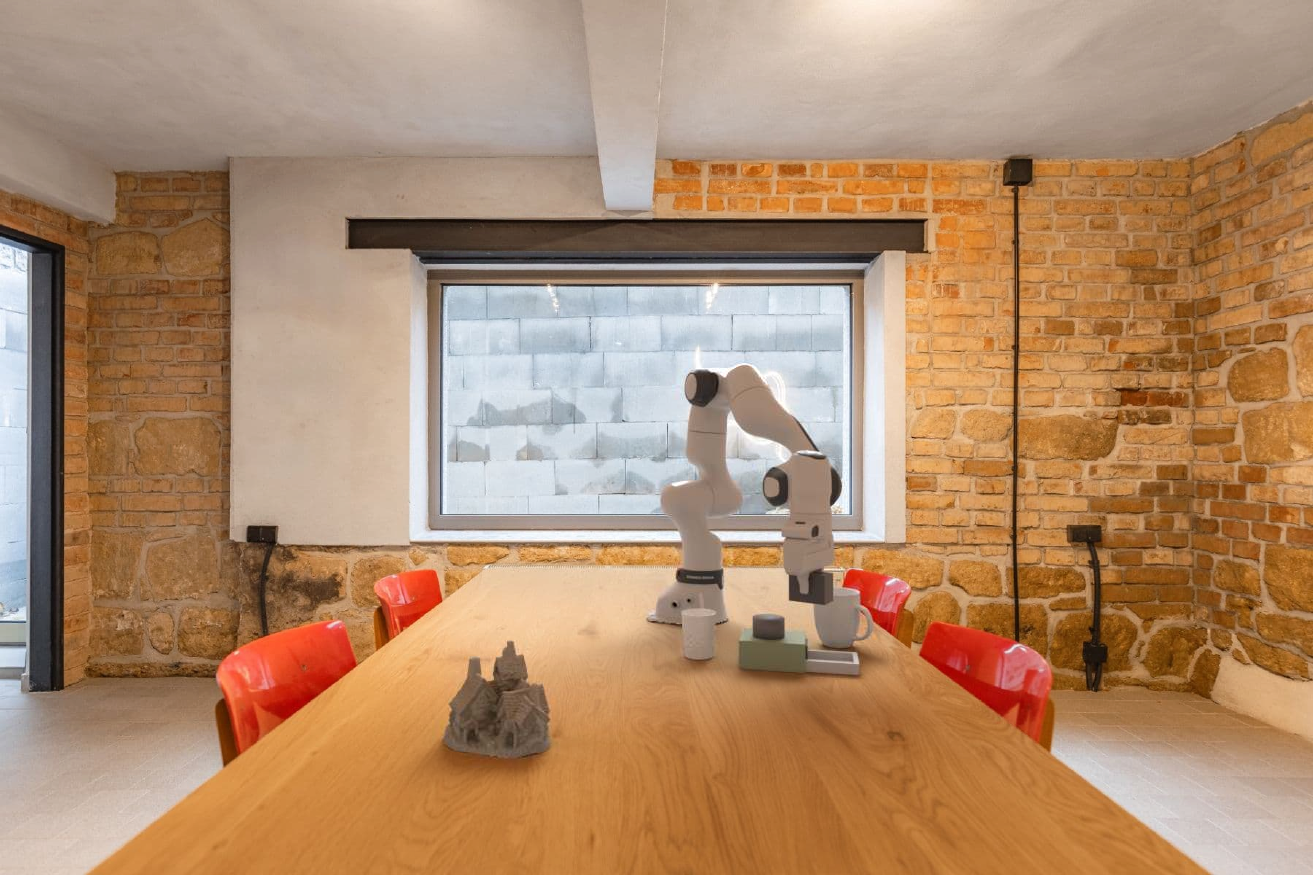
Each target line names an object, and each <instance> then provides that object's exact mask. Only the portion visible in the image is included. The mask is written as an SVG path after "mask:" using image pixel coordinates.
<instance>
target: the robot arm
mask: <svg viewBox="0 0 1313 875" xmlns="http://www.w3.org/2000/svg"><path fill="white" fill-rule="evenodd" d="M684 395H685V398H686V399H687V402H688V403H689V404H690V405H691V406H690V410H689V411H690V412H689V415H688V423H687V434H686V435H687V436H686V448H685V455H686V456H685V457H686V459H687V460H688V462H689V463H690V464H691V465H693V466H694V467H696V468H697V471H698V475H699V476H698V477H699V478H698V479H693V480H692V479H691V480H690V479H689V480H679V481H675V482H672V483H669V484H666V486H664V488H663V489H662V492H661V494H660V499H659V500H660V507H661V510H662V512H663V513H664V514H665V516H666V517H667V518H669V519H670V520H671V521H672V522H673V524H675V526H676V528H677V531H678V533H679V535H680V540H681V546H682V548H681V549H682V566H679V567H677V569H676V571H675V582H673V583H672V584H671V585H670V586H668V587H667V588H666V589H664V590H663V591H662V592H661V593H660V594H659V595H658V597H657V599H656V604H655V609H652V610H650V611H649V612H648V615H647V620H648V621H649V622H652V621H658V622H657V623H662V622H665V623H664V624H671V623H679V624H678V625H681V624H682V613H681V612H682V611H683V610H686V609H695V608H700V609H710V610H713V611H715V612H716V622H715V624H720V622H721V623H724V622H726V621H728V620H727V619H729V617H728V613H727V610H726V604H725V598H724V589H725V588H724V587H725V573H724V568H723V544H722V541H721V538H720V537H718V535H716V534H715V533H713V532H711V530H710V529H709V526H708V521H707V519H709V520H710V519H723V518H726V517H729V516H732V515H736V514H737V513H738V512H739V511H740V509H741V508H742V505H743V497H744V496H743V493H742V490H741V488H740V486H739V485H738V483H736V482H735V481H734V480H733V478H732V477H731V474H730V471H729V469H728V465H727V460H726V459H727V457H726V456H727V453H726V452H727V434H728V416H729V413H730V412H731V413H732V416H733V418H734V421H735V422H736V424H737V425H738V426H739V427H740V428H741V430H742V431H743V432H745V433H746V434H748V435H750V436H753V437H756V438H761V439H764V440H769V441H771V442H775V443H777V444H779V445H782V446H783V447H785V448H786V449H787V450H788V451H789V452H790V454H791V456H790V458H789V459H788V460H786V461H785V462H783V463H781V464H778V465H777V466H776V465H775V466H772V467H771V468H769V469H768V470H767V472H766V473H765V474H764V477H763V479H762V492H763V496H764V498H765V500H766V501H767V502H768V504H770V505H771V506H772V507H775V508H780V509H784V508H787V509H788V508H790V509H789V518H788V519H787V521H786V522H785V523H784V524H783V526H782V527H781V537H782V538H784V539H783V542H782V557H783V558H782V559H783V568H784V569H783V570H784V572H785V573H786V575H788V576H789V575H796V576H797V579H798V582H799V585H800V593H802V594H808V593H810V585H809V582H808V578H809V572H812V571H819V572H825V568H826V567H828V566H830V565H833V564H834V561H835V542H834V534H833V523H832V522H833V516H832V514H833V512H832V506H833V505H835V504H836V502H837V501H838V500H839V498H840V496H841V494H842V490H843V482H842V479H841V477H840V475H839V473H838V472H837V470H836V469H835V467H833V466H832V464H830V460H829V458H828V456H827V455H826V453H823V452H820V450H819V448H818V447H817V446H816V443H814V441H813V439H812V438H811V437H810V435H809V434H808V432H807V431H806V430H805V428H804V426H803V425H802V424H801V422H800V421H799V420H798V419H797V418H796V417H795V416H793V415H792V414H790V412H788V410H786V409H785V408H784V407H783V406H782V405H781V404H780V403H779V401H778V400H777V398H776V397H775V395H774V393H773V391H772V389H771V388H770V385H769V384H768V382H767V381H766V379H765V377H764V376H763V375H762V373H761V371H760V370H758V368H757V367H755V366H754V365H752V364H750V363H740V364H737V365H734V366H733V367H711V368H709V367H698V368H693V369H692V370H690V371H689V373H688V374H687V376H686V378H685V380H684ZM740 428H739V429H740ZM723 621H724V622H723Z"/></svg>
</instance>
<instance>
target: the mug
mask: <svg viewBox="0 0 1313 875" xmlns="http://www.w3.org/2000/svg"><path fill="white" fill-rule="evenodd" d="M812 605H813V620H814V625H815V629H816V632H817V636H818V638H819V640H820V642H821V643H822V644H823V645H824V646H825V647H827V646H828V648H833V649H847V648H850V647H852V646H853V644H854V642H855V641H856V642H857V641H859V642H860V641H864V640H867V639H869V638H870V636H871V635H872V633H873V630H874V621H873V617H872V614H871V612H870V611H869V609H868V608H867V607H865V606H864V605H861V591H859V590H858V589H853V588H848V587H841V586H833V601H832V602H830V603H828V604H826V605H819V604H812ZM861 612H862V613H863V615H864V616H865V618H866V621H867V622H866V623H867V628H866V632H865V634H863V635H861V636H858V632H859V629H860V628H859V627H860V623H861Z"/></svg>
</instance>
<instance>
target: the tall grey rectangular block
mask: <svg viewBox="0 0 1313 875" xmlns="http://www.w3.org/2000/svg"><path fill="white" fill-rule="evenodd" d="M808 582H809V585H810V593H808V594H802V593H800V585H799V582H798V579H797V576H796V575H788V601H789V602H797V603H805V604H811V605H814V604H819V605H826V604H828V603H830V602H832V601H833V587H834V573H833V572H827V571H824V572H819V571H812V572H809V578H808Z"/></svg>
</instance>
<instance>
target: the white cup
mask: <svg viewBox="0 0 1313 875" xmlns="http://www.w3.org/2000/svg"><path fill="white" fill-rule="evenodd" d="M681 613H682V625H681V627H682V628H681V631H682V633H681V634H682V644H683V656H684V658H687V659H688V660H698V661H699V660H700V661H703V660H705V661H706V660H709V659H712V658H713V657H714V655H715V652H714V651H715V641H716V640H715V636H716V623H715V622H716V612H715V611H713V610H710V609H700V608H695V609H686V610H683V611H682V612H681Z"/></svg>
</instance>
